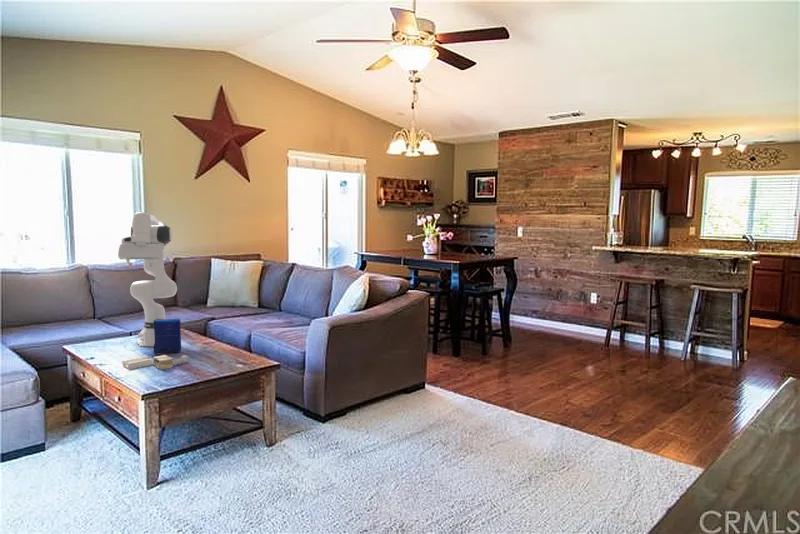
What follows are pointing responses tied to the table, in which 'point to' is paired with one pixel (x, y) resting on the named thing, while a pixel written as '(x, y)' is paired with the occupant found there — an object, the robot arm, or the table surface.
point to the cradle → (137, 362)
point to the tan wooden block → (163, 362)
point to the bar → (176, 360)
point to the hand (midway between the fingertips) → (140, 266)
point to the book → (167, 336)
